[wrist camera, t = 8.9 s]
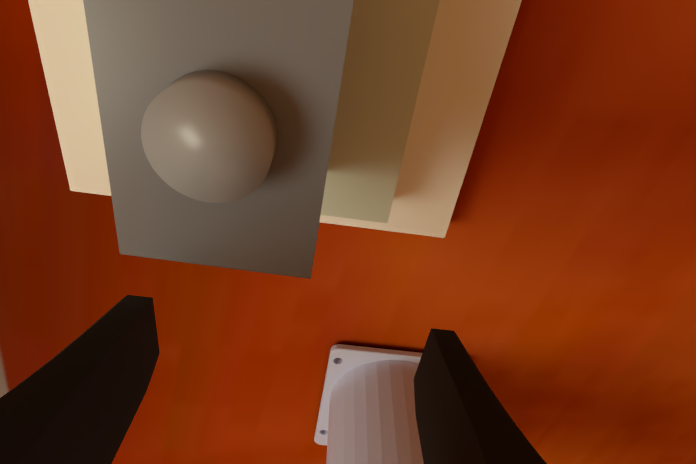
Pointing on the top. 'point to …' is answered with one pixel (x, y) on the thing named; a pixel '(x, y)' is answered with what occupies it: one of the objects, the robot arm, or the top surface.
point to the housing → (219, 125)
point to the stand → (340, 106)
